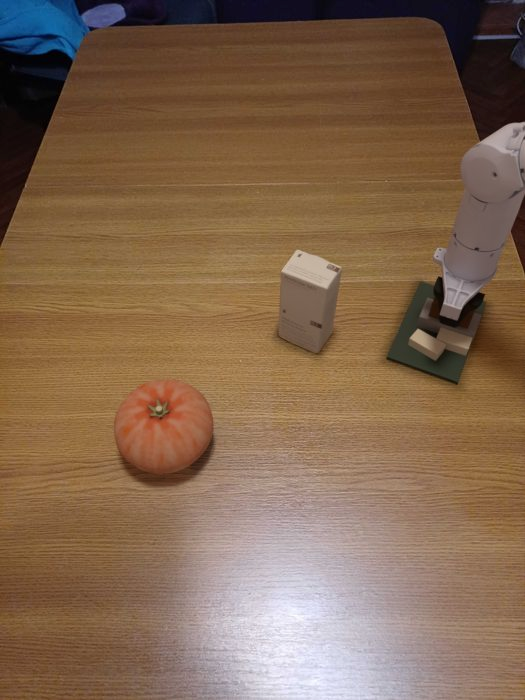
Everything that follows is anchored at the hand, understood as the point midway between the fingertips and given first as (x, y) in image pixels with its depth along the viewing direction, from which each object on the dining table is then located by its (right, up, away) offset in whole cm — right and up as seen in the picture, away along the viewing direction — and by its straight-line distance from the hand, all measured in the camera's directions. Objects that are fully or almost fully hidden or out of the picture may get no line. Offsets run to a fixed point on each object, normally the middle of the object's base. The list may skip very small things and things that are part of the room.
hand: (451, 314), depth 77 cm
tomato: (-34, -15, -6) cm, 38 cm away
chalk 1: (-3, -4, 0) cm, 5 cm away
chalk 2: (0, -4, 0) cm, 4 cm away
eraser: (0, -1, +2) cm, 2 cm away
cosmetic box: (-18, -3, +2) cm, 18 cm away
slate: (-1, -2, +2) cm, 3 cm away
